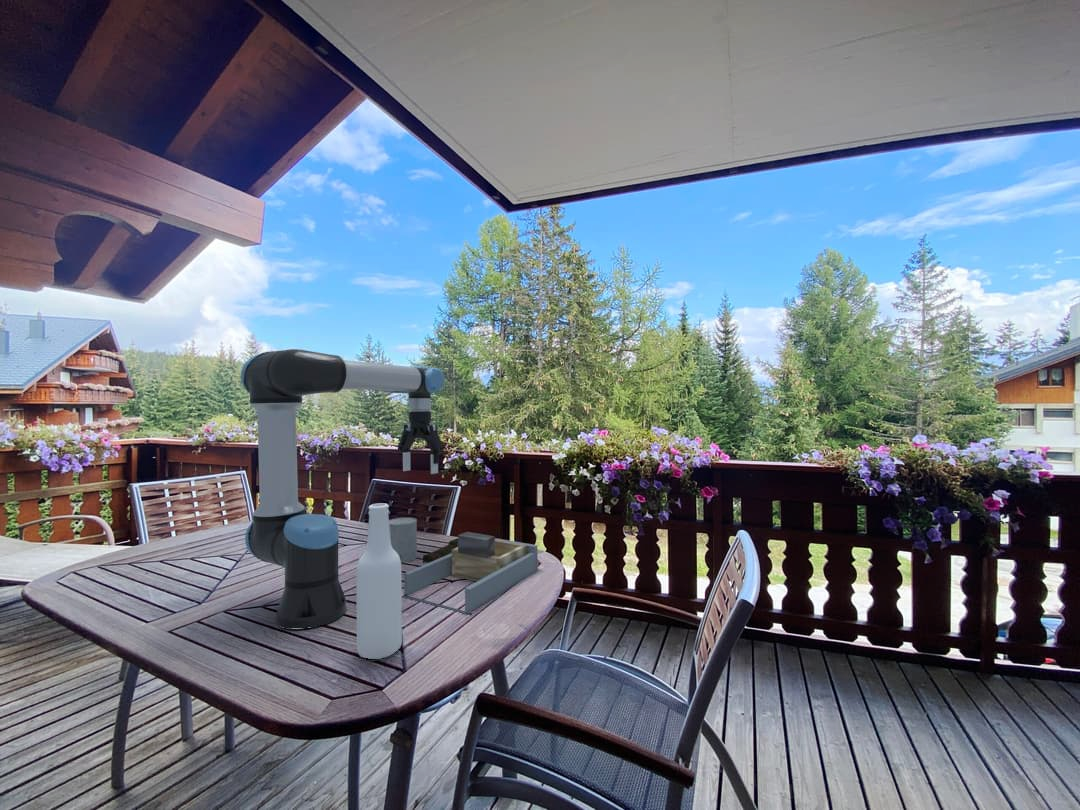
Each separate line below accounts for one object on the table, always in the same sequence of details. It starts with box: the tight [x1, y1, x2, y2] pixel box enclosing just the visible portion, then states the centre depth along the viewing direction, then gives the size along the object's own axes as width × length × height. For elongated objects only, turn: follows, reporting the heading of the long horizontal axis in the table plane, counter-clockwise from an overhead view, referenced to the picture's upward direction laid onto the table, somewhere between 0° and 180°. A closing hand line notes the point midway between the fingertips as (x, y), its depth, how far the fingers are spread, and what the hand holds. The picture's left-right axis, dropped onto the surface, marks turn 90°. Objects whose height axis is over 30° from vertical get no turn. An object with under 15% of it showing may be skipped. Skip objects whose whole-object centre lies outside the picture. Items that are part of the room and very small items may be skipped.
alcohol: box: [355, 502, 403, 659], centre depth 95 cm, size 9×9×30 cm
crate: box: [451, 531, 527, 582], centre depth 134 cm, size 15×17×12 cm
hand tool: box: [422, 537, 458, 564], centre depth 153 cm, size 19×4×5 cm, turn 153°
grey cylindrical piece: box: [389, 517, 418, 563], centre depth 153 cm, size 10×10×12 cm
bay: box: [403, 537, 539, 617], centre depth 129 cm, size 32×22×8 cm
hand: (420, 472), depth 159 cm, fingers open, 13 cm apart
